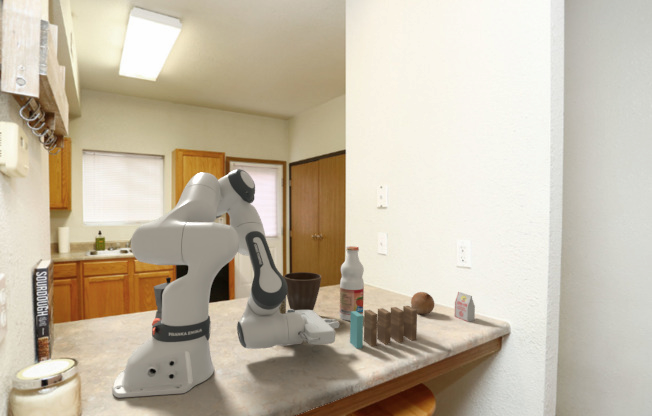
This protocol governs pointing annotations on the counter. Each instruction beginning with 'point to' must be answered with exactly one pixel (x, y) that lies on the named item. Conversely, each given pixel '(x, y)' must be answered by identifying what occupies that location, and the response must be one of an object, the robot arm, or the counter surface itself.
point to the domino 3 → (397, 324)
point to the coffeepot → (160, 297)
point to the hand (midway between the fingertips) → (337, 323)
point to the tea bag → (464, 307)
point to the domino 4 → (410, 323)
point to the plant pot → (302, 290)
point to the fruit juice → (351, 284)
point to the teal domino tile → (356, 329)
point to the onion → (422, 303)
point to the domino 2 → (384, 326)
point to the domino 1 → (370, 327)
